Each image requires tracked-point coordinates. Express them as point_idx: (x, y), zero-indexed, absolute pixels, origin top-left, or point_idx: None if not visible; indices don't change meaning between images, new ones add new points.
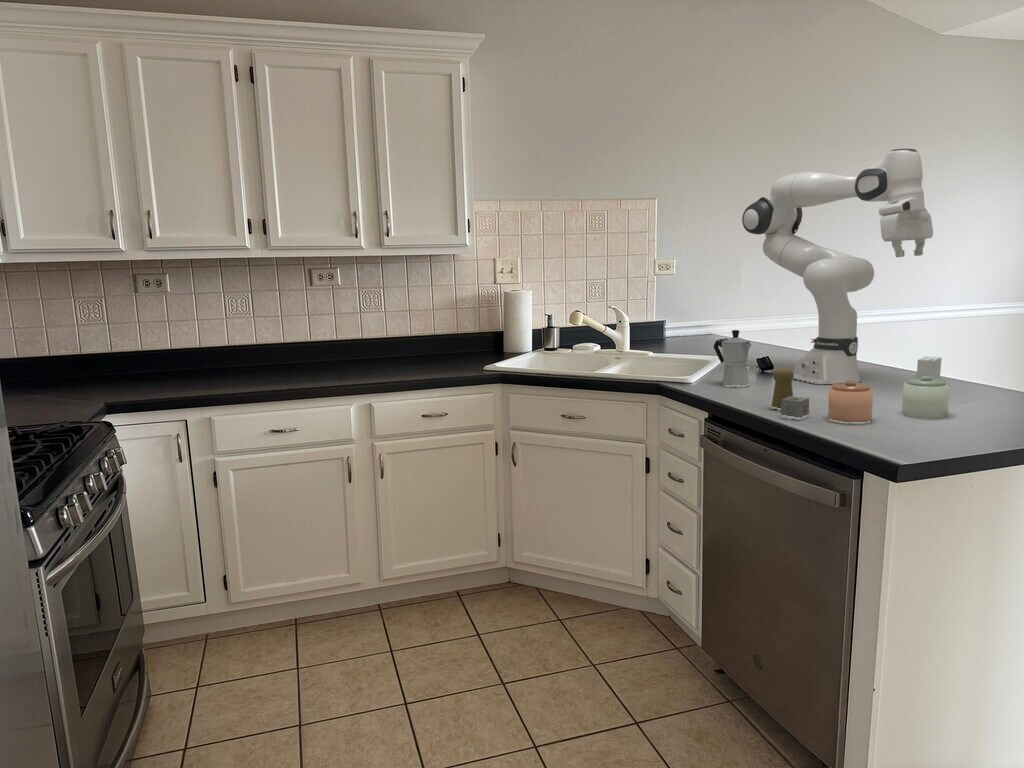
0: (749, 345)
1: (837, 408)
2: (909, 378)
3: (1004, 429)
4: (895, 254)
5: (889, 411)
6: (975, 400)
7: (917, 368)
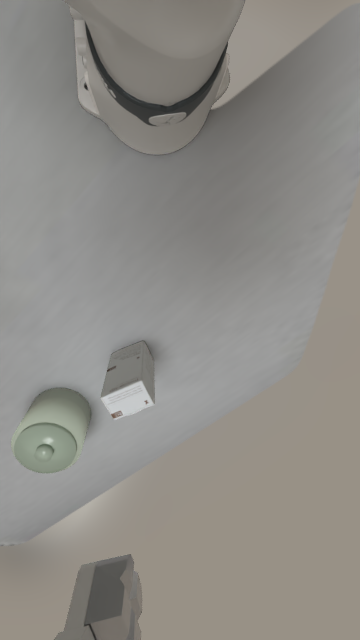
0: None
1: None
2: (34, 427)
3: (82, 496)
4: (74, 589)
5: (30, 379)
6: (200, 381)
7: (103, 387)
